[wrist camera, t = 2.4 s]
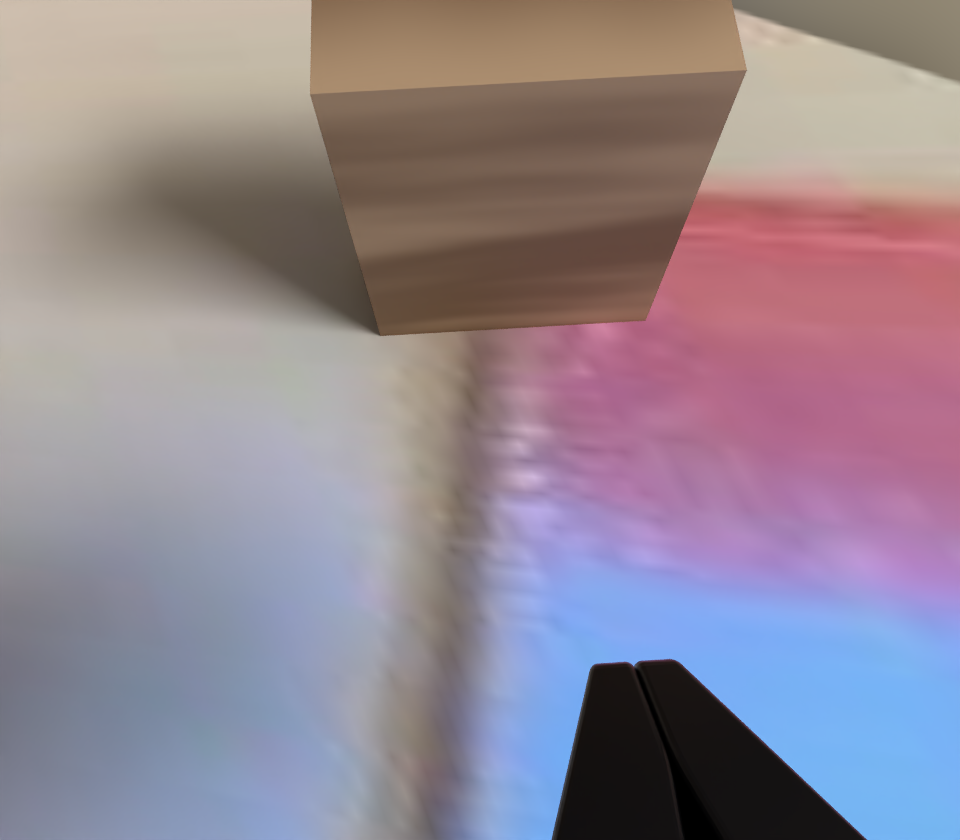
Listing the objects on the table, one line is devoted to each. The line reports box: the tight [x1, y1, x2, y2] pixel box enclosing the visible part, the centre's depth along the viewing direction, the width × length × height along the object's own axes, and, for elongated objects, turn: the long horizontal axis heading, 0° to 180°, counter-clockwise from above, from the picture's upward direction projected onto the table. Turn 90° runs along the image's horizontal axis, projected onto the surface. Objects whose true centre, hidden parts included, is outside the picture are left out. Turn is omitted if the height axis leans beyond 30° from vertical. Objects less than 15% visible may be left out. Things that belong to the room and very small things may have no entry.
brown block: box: [310, 0, 747, 336], centre depth 20 cm, size 3×8×10 cm, turn 94°
